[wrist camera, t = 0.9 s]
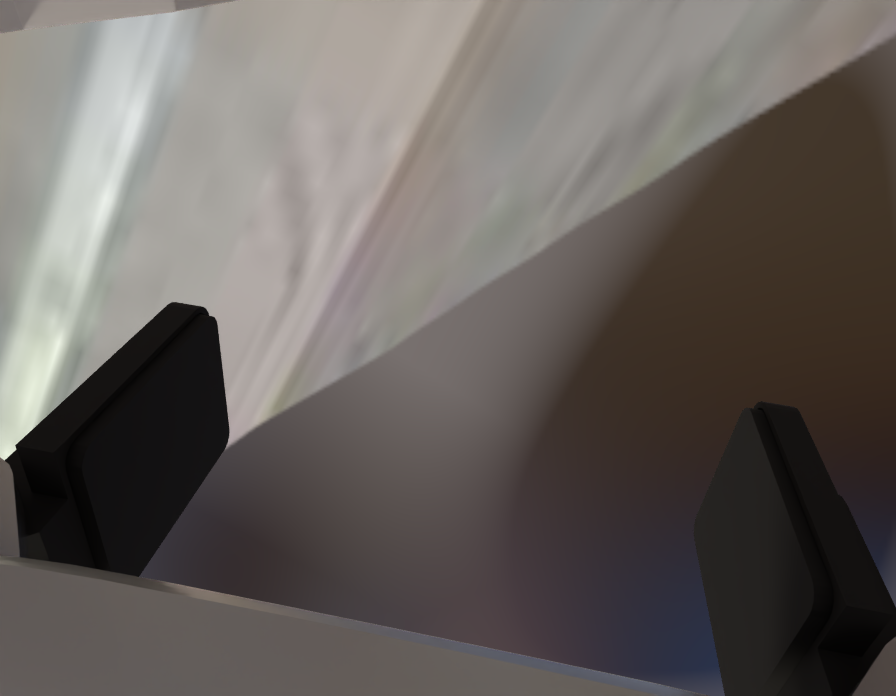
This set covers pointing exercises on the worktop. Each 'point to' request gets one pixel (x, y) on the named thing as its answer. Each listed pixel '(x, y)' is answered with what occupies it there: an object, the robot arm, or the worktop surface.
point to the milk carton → (84, 11)
